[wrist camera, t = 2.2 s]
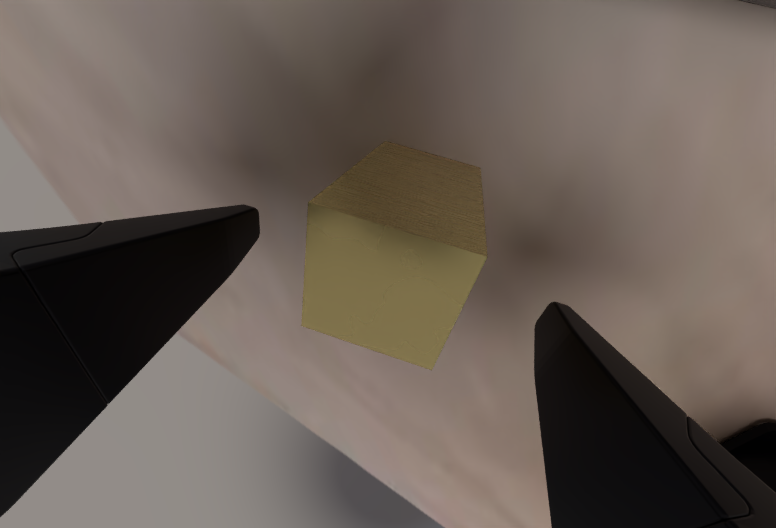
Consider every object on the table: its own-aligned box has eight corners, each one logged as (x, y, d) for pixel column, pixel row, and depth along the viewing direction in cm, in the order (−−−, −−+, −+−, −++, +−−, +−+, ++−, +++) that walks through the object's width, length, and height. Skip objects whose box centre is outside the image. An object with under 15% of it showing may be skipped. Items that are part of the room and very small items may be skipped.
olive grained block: (448, 249, 14) (431, 370, 8) (369, 225, 14) (301, 325, 9) (480, 167, 12) (487, 257, 6) (385, 141, 12) (308, 202, 6)
